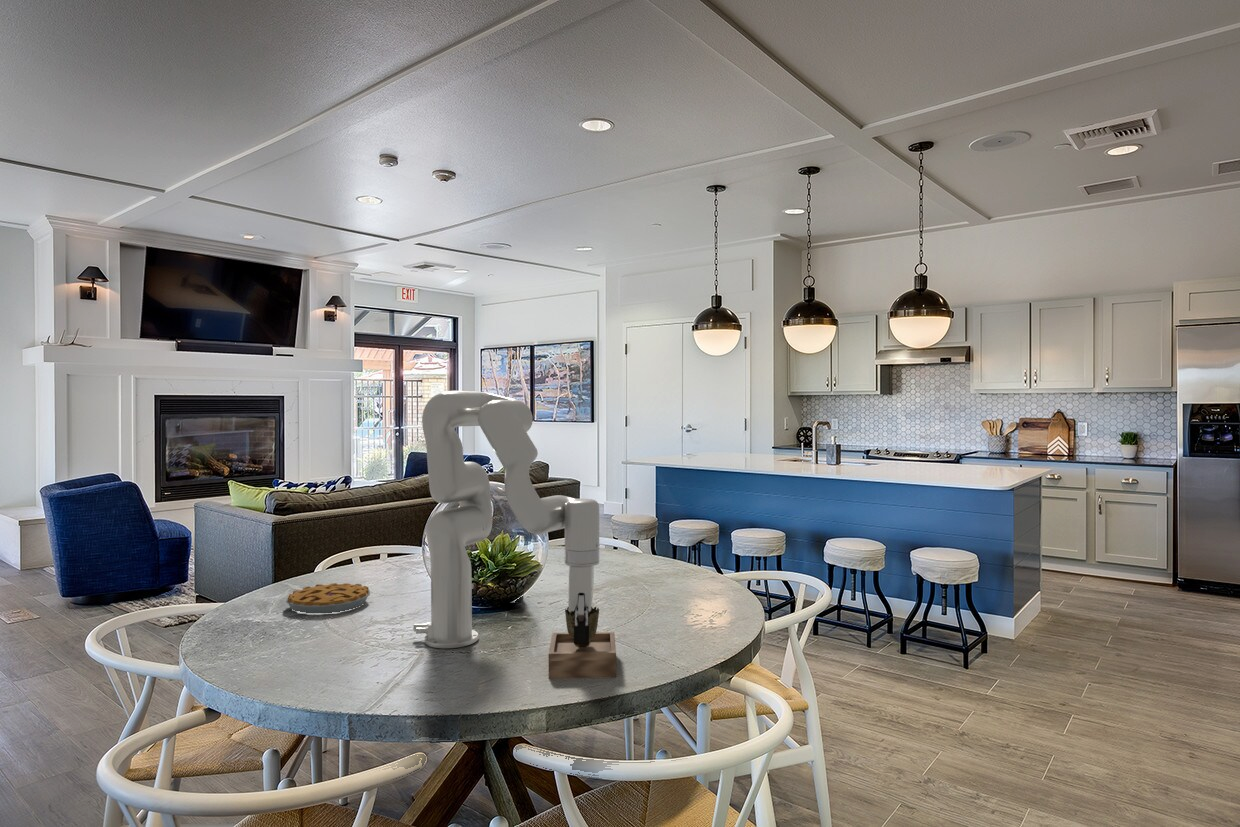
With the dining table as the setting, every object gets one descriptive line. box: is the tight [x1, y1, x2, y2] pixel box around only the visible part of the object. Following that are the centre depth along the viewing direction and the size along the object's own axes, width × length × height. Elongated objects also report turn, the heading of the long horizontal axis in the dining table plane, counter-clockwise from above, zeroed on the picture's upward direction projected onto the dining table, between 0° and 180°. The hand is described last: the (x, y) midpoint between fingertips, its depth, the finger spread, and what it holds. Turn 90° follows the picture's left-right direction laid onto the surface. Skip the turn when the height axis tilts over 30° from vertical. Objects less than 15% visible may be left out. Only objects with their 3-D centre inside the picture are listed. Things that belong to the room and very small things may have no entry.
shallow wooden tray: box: [548, 631, 617, 679], centre depth 159 cm, size 14×14×6 cm
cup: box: [564, 606, 600, 648], centre depth 159 cm, size 8×7×8 cm
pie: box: [285, 582, 371, 613], centre depth 208 cm, size 22×22×5 cm
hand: (582, 637), depth 159 cm, fingers closed on cup, 6 cm apart
